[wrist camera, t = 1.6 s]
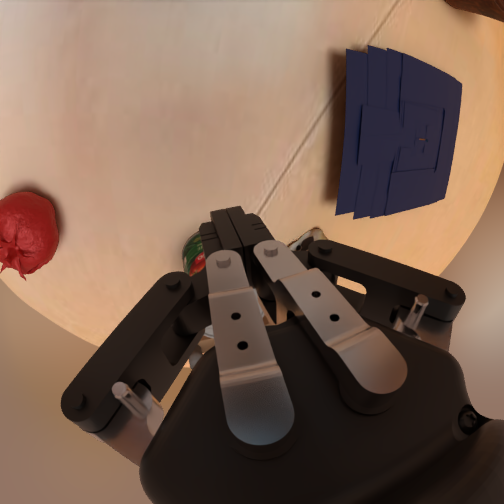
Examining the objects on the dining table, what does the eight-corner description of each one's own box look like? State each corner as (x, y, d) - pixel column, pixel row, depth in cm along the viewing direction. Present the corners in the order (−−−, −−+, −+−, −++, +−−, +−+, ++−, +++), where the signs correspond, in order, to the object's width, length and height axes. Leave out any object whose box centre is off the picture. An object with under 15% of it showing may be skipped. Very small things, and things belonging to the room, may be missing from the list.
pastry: (338, 260, 44) (349, 274, 41) (305, 284, 45) (315, 300, 41) (315, 222, 38) (328, 235, 35) (277, 250, 39) (287, 266, 36)
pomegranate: (3, 179, 21) (-37, 213, 14) (67, 187, 25) (37, 226, 18) (7, 247, 25) (-20, 292, 18) (66, 258, 30) (46, 308, 22)
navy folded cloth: (329, 35, 22) (351, 33, 19) (450, 79, 31) (466, 83, 29) (321, 219, 36) (337, 232, 33) (434, 194, 45) (447, 202, 43)
